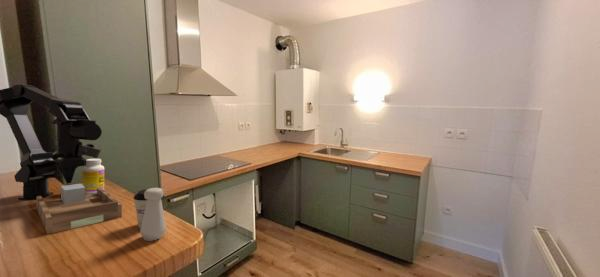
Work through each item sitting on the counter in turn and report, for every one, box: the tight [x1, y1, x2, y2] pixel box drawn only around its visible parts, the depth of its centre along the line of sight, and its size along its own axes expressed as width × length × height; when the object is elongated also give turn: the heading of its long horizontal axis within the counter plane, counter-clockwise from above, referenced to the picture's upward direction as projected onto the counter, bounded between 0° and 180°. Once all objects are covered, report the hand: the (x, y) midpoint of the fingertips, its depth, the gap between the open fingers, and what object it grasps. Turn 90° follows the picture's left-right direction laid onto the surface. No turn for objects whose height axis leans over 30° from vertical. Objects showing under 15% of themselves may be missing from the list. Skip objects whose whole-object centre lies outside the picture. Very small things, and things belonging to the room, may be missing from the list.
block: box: [60, 183, 86, 204], centre depth 81 cm, size 6×5×4 cm
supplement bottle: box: [81, 158, 105, 195], centre depth 96 cm, size 7×7×13 cm
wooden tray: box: [35, 187, 123, 235], centre depth 76 cm, size 24×16×5 cm, turn 51°
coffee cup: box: [133, 188, 148, 229], centre depth 71 cm, size 7×7×10 cm
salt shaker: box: [139, 187, 167, 242], centre depth 64 cm, size 6×6×13 cm
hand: (68, 182), depth 85 cm, fingers closed
